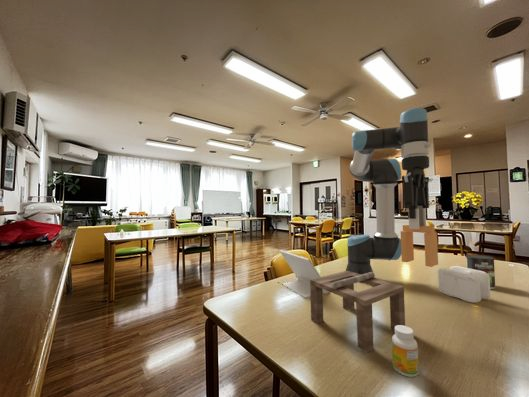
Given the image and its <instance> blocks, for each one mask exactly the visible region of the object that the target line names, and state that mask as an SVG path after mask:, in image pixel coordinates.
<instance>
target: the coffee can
mask: <svg viewBox="0 0 529 397" xmlns="http://www.w3.org/2000/svg"><path fill="white" fill-rule="evenodd" d="M465 266H466V267H465V268H469V269H474V270H479V271H483V272H486V273H487V274H488V275H489V277H490V290H494V289H496V288H497V287H496V273H495V270H496V269H495V257H493V256H490V255H484V254H475V253H474V254H472V253H471V254H465Z"/></svg>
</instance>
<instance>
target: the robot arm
mask: <svg viewBox="0 0 529 397" xmlns="http://www.w3.org/2000/svg"><path fill="white" fill-rule="evenodd" d="M427 113H428V112H427V109H426V108H423V107H415V108H410V109H408V110H405V111H403V112H402V113H401V114H400V115H399V117H400V118H399V126H395V127H385V128H377V129H367V130H366V129H363V130H359V131H354V132H352V134H351V150H352V151H354V153H353V159H352V161H351V162H350V164H349V170H348V171H349V172H350V175H351V176H352V177H353V178H354V179H356V180H357V181H361V182H366V183H367V182H368V183H370V182H371V183H372V186H374V188H375V202H376V204H375V205H376V206H375V208H376V209H375V210H376V212H375V214H376V215H375V216H376V232H375V233H373V237H371V236H370V235H369V234H356V235H350V236H349V237H348V238H347V243H346V246H347V264H346V268H345V271H350V272H354V273H357V274H361V275H362V274H366V273H369V272H373V273H374V270H373V267H372V264H371V260H381V261H397V260H399V259H400V258H401V257H402V255H401V237H399V235H398V234H397V233H396V230H395V225H396V224H395V223H396V222H395V187H396V186H397V185H398V181H402V190H403V191H402V192H403V193H402V194H403V205H404V209H405V210H407V209H408V225H409V229H420V227H419V209H416V208H417V206H423V226H427V213H426V211H427V209H429V208H430V198H429V194H430V193H429V183H430V178H429V176H426V175H425V170H426V169H429V167H430V157H429V154H430V153H429V152H430V151H429V148H431V144H429V130H428V129H429V128H428V127H429V125H428V120H429V118H428V114H427ZM382 149H383V150H384V149H397V150H401V151H400V152H401V155H400V156H401V158H402V159H401V165H400V163H399V161H398V159H396V158H382V159H381V158H378V159H372V157H373V154H374V153H375V150H382ZM402 171H406V175H402Z"/></svg>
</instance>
